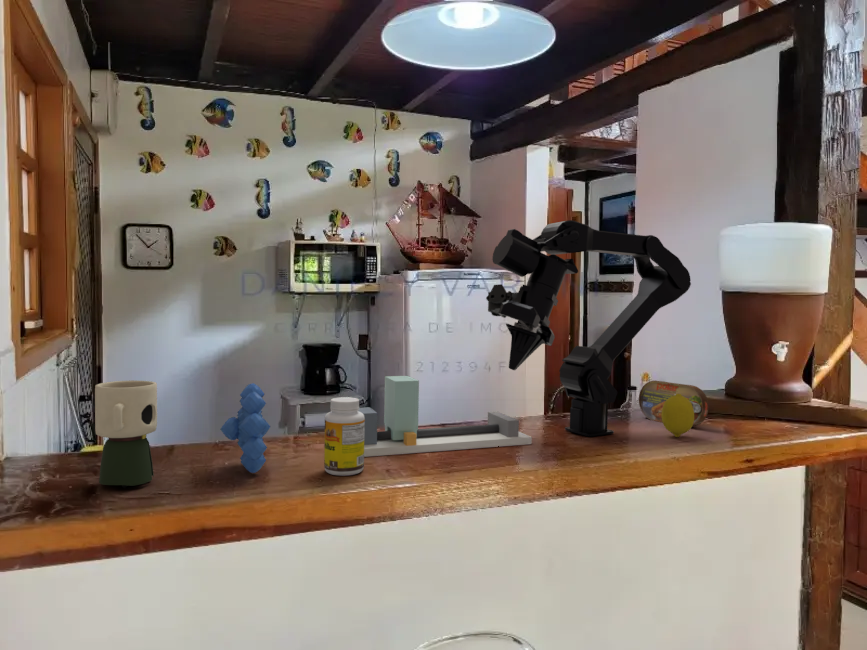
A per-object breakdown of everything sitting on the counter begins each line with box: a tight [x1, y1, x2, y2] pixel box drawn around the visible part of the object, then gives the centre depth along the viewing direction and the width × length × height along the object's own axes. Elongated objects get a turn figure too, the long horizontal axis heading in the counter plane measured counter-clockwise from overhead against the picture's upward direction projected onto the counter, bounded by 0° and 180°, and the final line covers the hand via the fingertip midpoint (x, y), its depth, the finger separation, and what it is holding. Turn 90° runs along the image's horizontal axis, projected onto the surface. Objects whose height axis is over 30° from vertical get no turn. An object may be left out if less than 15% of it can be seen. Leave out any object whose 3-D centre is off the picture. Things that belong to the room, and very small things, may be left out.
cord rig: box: [359, 406, 533, 458], centre depth 104 cm, size 30×10×6 cm, turn 110°
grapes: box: [220, 382, 271, 474], centre depth 86 cm, size 12×7×12 cm, turn 19°
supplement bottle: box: [323, 396, 365, 477], centre depth 87 cm, size 6×6×10 cm
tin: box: [638, 380, 710, 427], centre depth 125 cm, size 15×3×8 cm, turn 32°
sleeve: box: [383, 375, 420, 440], centre depth 102 cm, size 4×6×10 cm, turn 20°
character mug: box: [94, 380, 158, 489], centre depth 79 cm, size 11×7×13 cm, turn 15°
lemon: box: [661, 394, 694, 438], centre depth 112 cm, size 6×6×8 cm
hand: (511, 369), depth 108 cm, fingers closed
